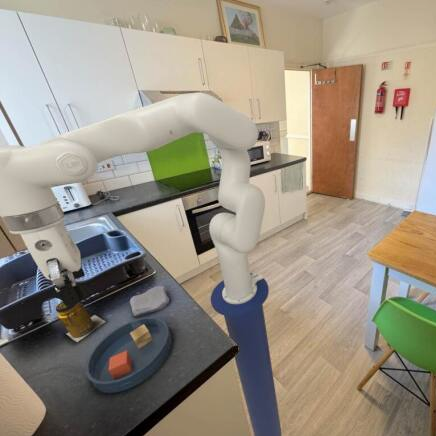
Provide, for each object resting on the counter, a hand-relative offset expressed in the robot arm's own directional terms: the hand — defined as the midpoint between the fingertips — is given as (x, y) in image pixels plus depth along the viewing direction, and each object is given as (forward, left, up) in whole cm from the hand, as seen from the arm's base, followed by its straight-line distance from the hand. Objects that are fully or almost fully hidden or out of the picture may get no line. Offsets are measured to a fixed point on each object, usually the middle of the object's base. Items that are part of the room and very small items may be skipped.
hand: (76, 289), depth 50 cm
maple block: (-5, -9, -30) cm, 32 cm away
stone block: (-10, -24, -31) cm, 40 cm away
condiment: (+9, -28, -31) cm, 42 cm away
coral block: (+1, -3, -30) cm, 30 cm away
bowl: (-2, -6, -31) cm, 31 cm away
